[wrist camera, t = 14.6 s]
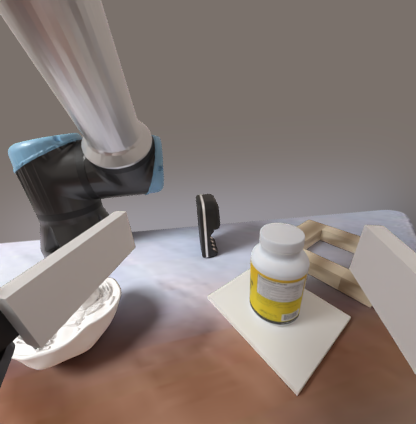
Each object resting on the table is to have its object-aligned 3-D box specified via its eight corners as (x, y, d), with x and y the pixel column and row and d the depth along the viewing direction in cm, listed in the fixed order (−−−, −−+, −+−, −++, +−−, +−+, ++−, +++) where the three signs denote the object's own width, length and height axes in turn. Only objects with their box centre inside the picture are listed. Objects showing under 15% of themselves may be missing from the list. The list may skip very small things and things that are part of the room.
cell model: (27, 329, 25) (1, 292, 22) (122, 288, 31) (110, 254, 28) (4, 418, 17) (-41, 378, 14) (137, 341, 23) (123, 302, 20)
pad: (207, 298, 28) (207, 296, 28) (260, 264, 34) (260, 261, 34) (297, 395, 17) (298, 392, 17) (349, 320, 24) (350, 316, 24)
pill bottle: (269, 280, 30) (275, 214, 25) (309, 309, 25) (327, 233, 20) (239, 302, 26) (239, 230, 22) (279, 340, 21) (291, 258, 17)
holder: (269, 252, 37) (270, 242, 36) (307, 228, 44) (308, 219, 43) (370, 307, 25) (376, 294, 24) (398, 263, 32) (404, 251, 31)
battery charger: (222, 257, 37) (220, 202, 32) (202, 259, 36) (198, 205, 32) (216, 238, 43) (214, 190, 38) (199, 240, 43) (195, 192, 38)
